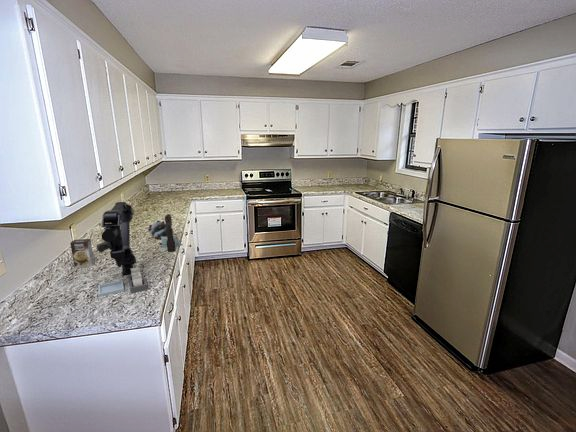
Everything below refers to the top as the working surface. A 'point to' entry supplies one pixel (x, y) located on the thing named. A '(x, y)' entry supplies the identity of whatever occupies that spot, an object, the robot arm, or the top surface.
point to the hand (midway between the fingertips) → (119, 264)
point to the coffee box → (82, 253)
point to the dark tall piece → (169, 236)
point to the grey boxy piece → (140, 287)
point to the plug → (137, 279)
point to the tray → (110, 288)
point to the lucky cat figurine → (158, 229)
